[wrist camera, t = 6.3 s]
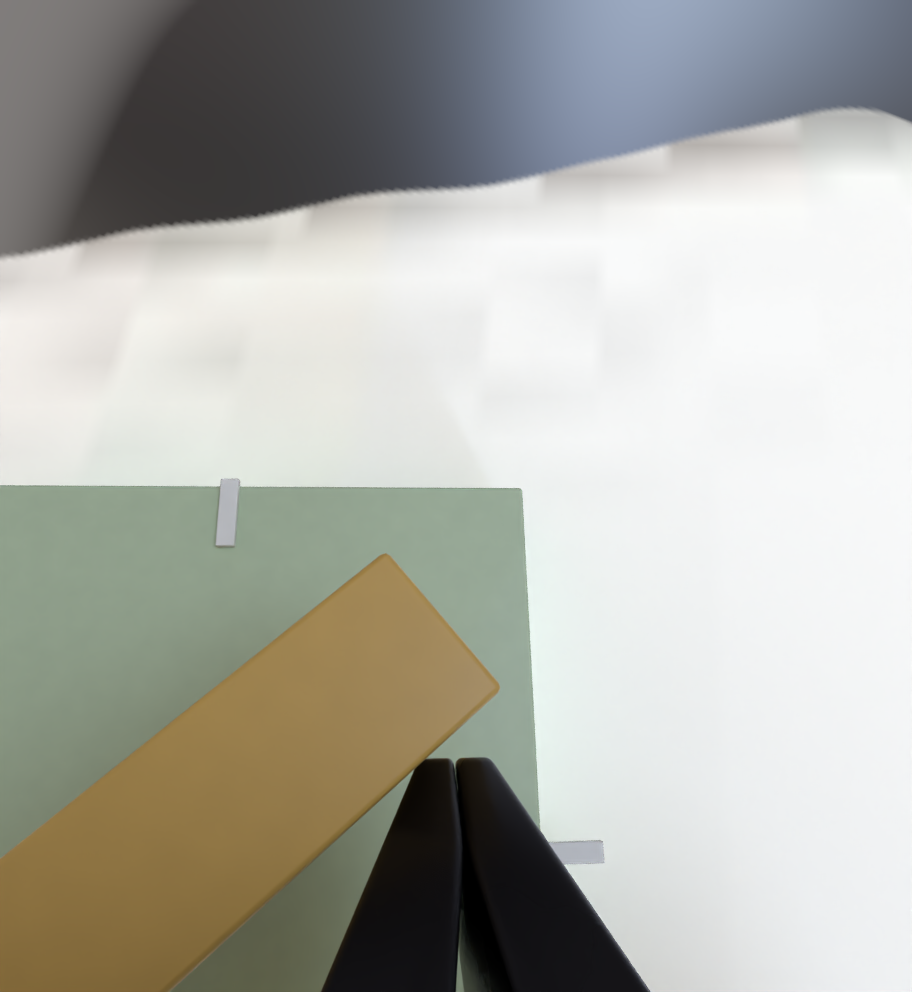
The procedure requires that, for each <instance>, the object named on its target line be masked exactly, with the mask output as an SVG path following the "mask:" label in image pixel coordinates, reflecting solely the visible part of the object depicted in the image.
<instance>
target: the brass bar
mask: <svg viewBox="0 0 912 992" xmlns="http://www.w3.org/2000/svg"><path fill="white" fill-rule="evenodd" d="M499 690H500V685H499V682H498V681H497V680H496V679H495V678H494V676H493V675H492V674H491V673H490V672H489V671H488V669H487V668H486V667H485V666H484V665H483V664H482V662H481V661H480V660H479V659H478V658H477V657H476V655H475V654H474V653H473V652H472V651H471V650H470V648H469V647H468V646H467V645H466V644H465V642H464V641H463V640H462V639H461V638H460V637H459V635H458V634H457V633H456V632H455V631H454V630H453V628H452V627H451V626H450V625H449V624H448V623H447V621H446V620H445V619H444V618H443V617H442V615H441V614H440V613H439V612H438V611H437V610H436V608H435V607H434V606H433V605H432V604H431V603H430V601H429V600H428V599H427V598H426V597H425V596H424V594H423V593H422V592H421V591H420V590H419V588H418V587H417V586H416V585H415V584H414V583H413V581H412V580H411V579H410V578H409V577H408V576H407V574H406V573H405V572H404V571H403V570H402V569H401V567H400V566H399V565H398V564H397V563H396V561H395V560H394V559H393V558H392V557H391V556H390V555H388V554H386V553H385V554H381V555H379V556H378V557H377V558H376V559H374V560H373V561H372V562H371V563H369V564H368V565H367V566H366V567H364V568H363V569H362V570H361V571H359V572H358V573H357V574H356V575H354V576H353V577H352V578H351V579H349V580H348V581H347V582H346V583H344V584H343V585H342V586H341V587H339V588H338V589H337V590H336V591H334V592H333V593H332V594H331V595H329V596H328V597H327V598H326V599H324V600H323V601H322V602H321V603H319V604H318V605H317V606H316V607H314V608H313V609H312V610H311V611H309V612H308V613H307V614H306V615H304V616H303V617H302V618H301V619H299V620H298V621H297V622H296V623H294V624H293V625H292V626H291V627H289V628H288V629H287V630H285V631H284V632H283V633H282V634H280V635H279V636H278V637H277V638H275V639H274V640H273V641H272V642H270V643H269V644H268V645H267V646H265V647H264V648H263V649H262V650H260V651H259V652H258V653H257V654H255V655H254V656H253V657H252V658H250V659H249V660H248V661H247V662H245V663H244V664H243V665H242V666H240V667H239V668H238V669H237V670H235V671H234V672H233V673H232V674H230V675H229V676H228V677H227V678H225V679H224V680H223V681H222V682H220V683H219V684H218V685H217V686H215V687H214V688H213V689H212V690H210V691H209V692H208V693H207V694H205V695H204V696H203V697H202V698H200V699H199V700H198V701H197V702H195V703H194V704H193V705H192V706H190V707H189V708H188V709H187V710H185V711H184V712H183V713H182V714H180V715H179V716H178V717H177V718H175V719H174V720H173V721H172V722H170V723H169V724H168V725H166V726H165V727H164V728H163V729H161V730H160V731H159V732H158V733H156V734H155V735H154V736H153V737H151V738H150V739H149V740H148V741H146V742H145V743H144V744H143V745H141V746H140V747H139V748H138V749H136V750H135V751H134V752H133V753H131V754H130V755H129V756H128V757H126V758H125V759H124V760H123V761H121V762H120V763H119V764H118V765H116V766H115V767H114V768H113V769H111V770H110V771H109V772H108V773H106V774H105V775H104V776H103V777H101V778H100V779H99V780H98V781H96V782H95V783H94V784H93V785H91V786H90V787H89V788H88V789H86V790H85V791H84V792H83V793H81V794H80V795H79V796H78V797H76V798H75V799H74V800H73V801H71V802H70V803H69V804H68V805H66V806H65V807H64V808H63V809H61V810H60V811H59V812H58V813H56V814H55V815H54V816H53V817H51V818H50V819H49V820H48V821H46V822H45V823H44V824H42V825H41V826H40V827H39V828H37V829H36V830H35V831H34V832H32V833H31V834H30V835H29V836H27V837H26V838H25V839H24V840H22V841H21V842H20V843H19V844H17V845H16V846H15V847H14V848H12V849H11V850H10V851H9V852H7V853H6V854H5V855H4V856H2V857H1V858H0V992H170V991H171V990H172V989H174V988H175V987H176V986H177V985H178V984H179V983H180V982H181V981H182V980H183V979H185V978H186V977H187V976H188V975H189V974H190V973H191V972H192V971H193V970H194V969H196V968H197V967H198V966H199V965H200V964H201V963H202V962H203V961H204V960H205V959H207V958H208V957H209V956H210V955H211V954H212V953H213V952H214V951H215V950H216V949H217V948H219V947H220V946H221V945H222V944H223V943H224V942H225V941H226V940H227V939H228V938H230V937H231V936H232V935H233V934H234V933H235V932H236V931H237V930H238V929H239V928H241V927H242V926H243V925H244V924H245V923H246V922H247V921H248V920H249V919H250V918H252V917H253V916H254V915H255V914H256V913H257V912H258V911H259V910H260V909H261V908H263V907H264V906H265V905H266V904H267V903H268V902H269V901H270V900H271V899H272V898H274V897H275V896H276V895H277V894H278V893H279V892H280V891H281V890H282V889H283V888H284V887H286V886H287V885H288V884H289V883H290V882H291V881H292V880H293V879H294V878H295V877H297V876H298V875H299V874H300V873H301V872H302V871H303V870H304V869H305V868H306V867H308V866H309V865H310V864H311V863H312V862H313V861H314V860H315V859H316V858H317V857H319V856H320V855H321V854H322V853H323V852H324V851H325V850H326V849H327V848H328V847H330V846H331V845H332V844H333V843H334V842H335V841H336V840H337V839H338V838H339V837H341V836H342V835H343V834H344V833H345V832H346V831H347V830H348V829H349V828H350V827H351V826H353V825H354V824H355V823H356V822H357V821H358V820H359V819H360V818H361V817H362V816H364V815H365V814H366V813H367V812H368V811H369V810H370V809H371V808H372V807H373V806H375V805H376V804H377V803H378V802H379V801H380V800H381V799H382V798H383V797H384V796H386V795H387V794H388V793H389V792H390V791H391V790H392V789H393V788H394V787H395V786H397V785H398V784H399V783H400V782H401V781H402V780H403V779H404V778H405V777H406V776H408V775H409V774H410V773H411V772H412V771H413V770H414V769H415V768H416V767H417V766H418V765H420V764H421V763H422V762H423V761H424V760H425V759H426V758H427V757H428V756H429V755H431V754H432V753H433V752H434V751H435V750H436V749H437V748H438V747H439V746H440V745H442V744H443V743H444V742H445V741H446V740H447V739H448V738H449V737H450V736H451V735H453V734H454V733H455V732H456V731H457V730H458V729H459V728H460V727H461V726H462V725H464V724H465V723H466V722H467V721H468V720H469V719H470V718H471V717H472V716H473V715H475V714H476V713H477V712H478V711H479V710H480V709H481V708H482V707H483V706H484V705H485V704H487V703H488V702H489V701H490V700H491V699H492V698H493V697H494V696H495V695H496V694H498V692H499Z"/></svg>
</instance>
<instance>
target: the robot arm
mask: <svg viewBox="0 0 912 992" xmlns="http://www.w3.org/2000/svg"><path fill="white" fill-rule="evenodd" d="M458 948H459V957H460V965H461V973H462V980H463V987H464V992H650V990H649V989H648V987H647V986H646V985H645V983H644V982H643V980H642V979H641V977H640V976H639V974H638V973H637V971H636V970H635V968H634V967H633V966H632V964H631V963H630V961H629V960H628V958H627V957H626V955H625V954H624V952H623V951H622V949H621V948H620V947H619V945H618V944H617V942H616V941H615V939H614V938H613V936H612V935H611V933H610V932H609V930H608V929H607V928H606V926H605V925H604V923H603V922H602V920H601V919H600V917H599V916H598V914H597V913H596V911H595V910H594V909H593V907H592V906H591V904H590V903H589V901H588V900H587V898H586V897H585V895H584V894H583V892H582V891H581V890H580V888H579V887H578V885H577V884H576V882H575V881H574V879H573V878H572V876H571V875H570V873H569V872H568V871H567V869H566V868H565V866H564V865H563V863H562V862H561V860H560V859H559V857H558V856H557V854H556V853H555V852H554V850H553V849H552V847H551V846H550V844H549V843H548V841H547V840H546V838H545V837H544V835H543V834H542V833H541V831H540V830H539V828H538V827H537V825H536V824H535V822H534V821H533V819H532V818H531V816H530V815H529V814H528V812H527V811H526V809H525V808H524V806H523V805H522V803H521V802H520V800H519V799H518V797H517V796H516V794H515V793H514V792H513V790H512V789H511V787H510V786H509V784H508V783H507V781H506V780H505V778H504V777H503V775H502V774H501V773H500V771H499V770H498V768H497V767H496V765H495V764H494V763H493V761H492V760H491V759H489V758H487V757H469V758H459V759H458V760H457V761H456V763H455V768H454V763H453V761H452V760H451V759H450V758H428V759H425V760H424V761H423V762H422V763H421V764H420V765H418V766H417V767H416V768H415V769H414V771H413V774H412V776H411V779H410V781H409V783H408V786H407V788H406V790H405V793H404V795H403V798H402V800H401V802H400V805H399V807H398V809H397V812H396V814H395V817H394V819H393V821H392V824H391V826H390V828H389V831H388V833H387V836H386V838H385V840H384V843H383V845H382V847H381V850H380V852H379V855H378V857H377V859H376V862H375V864H374V866H373V869H372V871H371V874H370V876H369V878H368V881H367V883H366V885H365V888H364V890H363V892H362V895H361V897H360V900H359V902H358V904H357V907H356V909H355V911H354V914H353V916H352V919H351V921H350V923H349V926H348V928H347V930H346V933H345V935H344V938H343V940H342V942H341V945H340V947H339V949H338V952H337V954H336V957H335V959H334V961H333V964H332V966H331V968H330V971H329V973H328V976H327V978H326V980H325V983H324V985H323V987H322V990H321V992H456V981H457V965H458Z"/></svg>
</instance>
